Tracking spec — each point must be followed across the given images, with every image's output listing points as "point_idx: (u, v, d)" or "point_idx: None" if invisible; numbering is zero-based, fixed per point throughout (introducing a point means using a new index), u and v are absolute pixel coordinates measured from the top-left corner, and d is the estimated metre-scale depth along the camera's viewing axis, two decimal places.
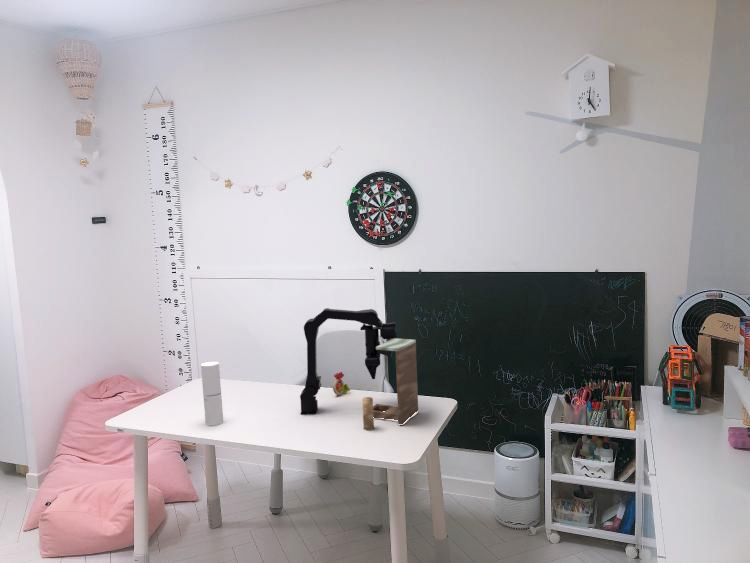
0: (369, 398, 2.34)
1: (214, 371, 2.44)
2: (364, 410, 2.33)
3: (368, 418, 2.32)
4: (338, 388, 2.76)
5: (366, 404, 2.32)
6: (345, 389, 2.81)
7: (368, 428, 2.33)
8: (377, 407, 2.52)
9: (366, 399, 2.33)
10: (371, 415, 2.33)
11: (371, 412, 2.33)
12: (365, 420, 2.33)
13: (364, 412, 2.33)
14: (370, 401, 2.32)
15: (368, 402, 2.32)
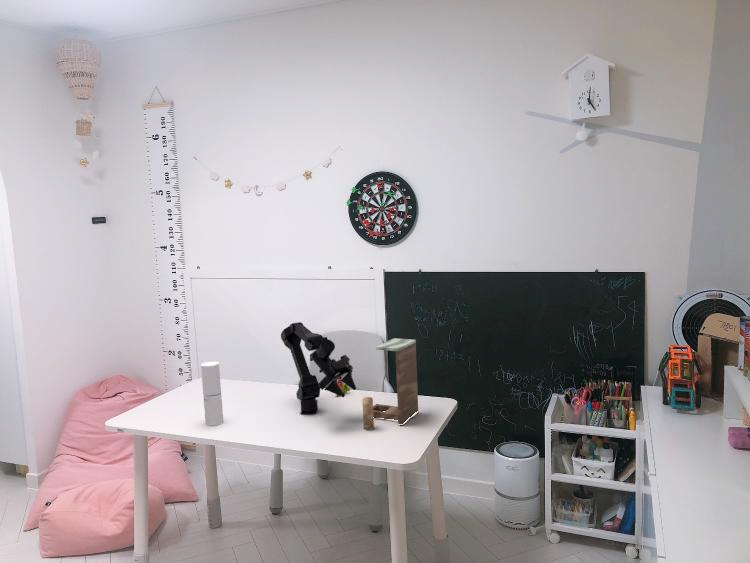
0: (369, 398, 2.34)
1: (214, 371, 2.44)
2: (364, 410, 2.33)
3: (368, 418, 2.32)
4: None
5: (366, 404, 2.32)
6: (345, 389, 2.81)
7: (368, 428, 2.33)
8: (377, 407, 2.52)
9: (366, 399, 2.33)
10: (371, 415, 2.33)
11: (371, 412, 2.33)
12: (365, 420, 2.33)
13: (364, 412, 2.33)
14: (370, 401, 2.32)
15: (368, 402, 2.32)
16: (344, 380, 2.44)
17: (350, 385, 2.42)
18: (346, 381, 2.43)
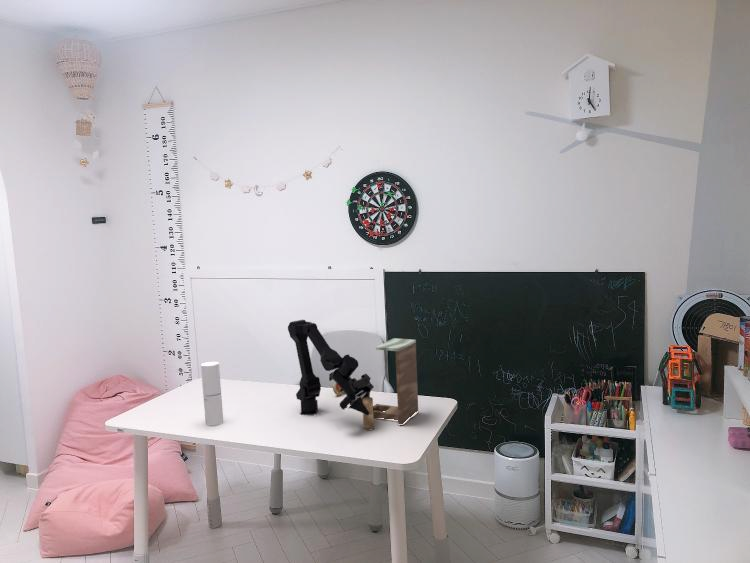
0: (369, 398, 2.34)
1: (214, 371, 2.44)
2: None
3: (368, 418, 2.32)
4: (338, 388, 2.76)
5: (366, 404, 2.32)
6: None
7: (368, 428, 2.33)
8: (377, 407, 2.52)
9: (366, 399, 2.33)
10: (371, 415, 2.33)
11: (371, 412, 2.33)
12: (365, 420, 2.33)
13: None
14: (370, 401, 2.32)
15: (368, 402, 2.32)
16: None
17: None
18: None
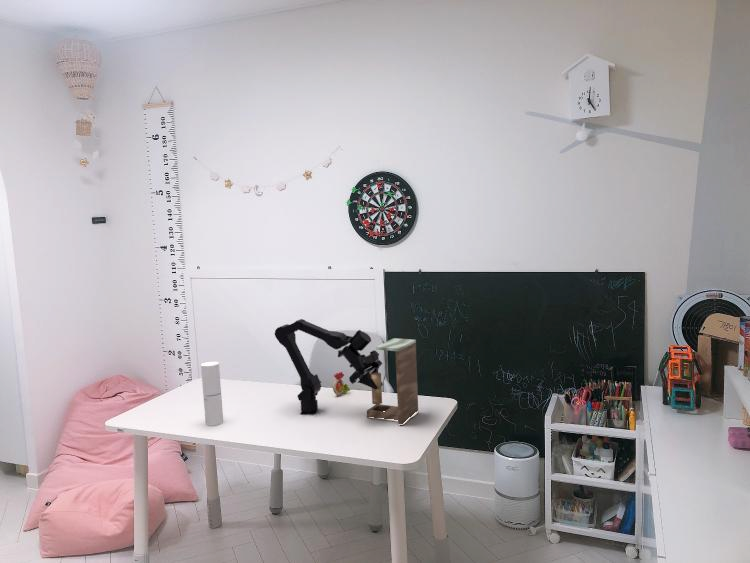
0: (378, 373, 2.43)
1: (214, 371, 2.44)
2: None
3: (377, 393, 2.41)
4: (338, 388, 2.76)
5: (374, 379, 2.41)
6: (345, 389, 2.81)
7: (376, 402, 2.42)
8: (377, 407, 2.52)
9: (375, 374, 2.42)
10: (379, 390, 2.42)
11: (379, 387, 2.42)
12: (373, 394, 2.42)
13: None
14: (378, 376, 2.41)
15: (377, 377, 2.41)
16: None
17: None
18: None
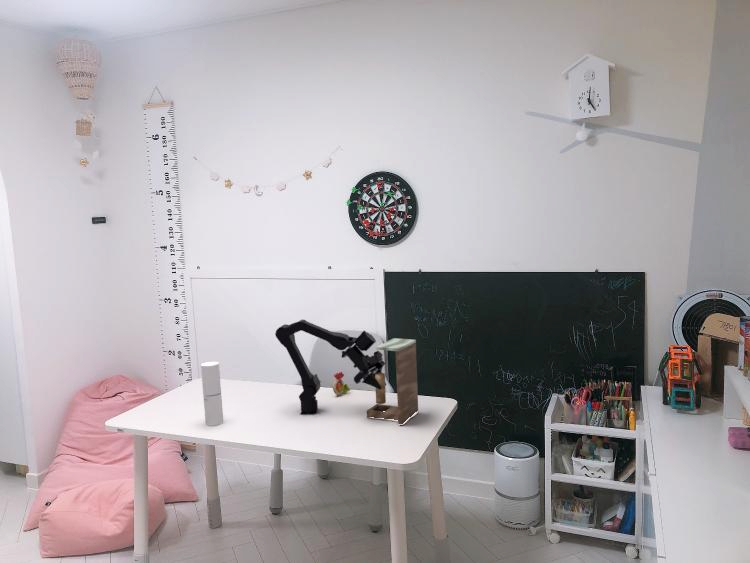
0: (381, 373, 2.47)
1: (214, 371, 2.44)
2: None
3: (381, 392, 2.46)
4: (338, 388, 2.76)
5: (378, 379, 2.45)
6: (345, 389, 2.81)
7: (380, 402, 2.46)
8: (377, 407, 2.52)
9: (378, 374, 2.46)
10: (383, 389, 2.46)
11: (383, 387, 2.46)
12: (377, 394, 2.46)
13: None
14: (382, 376, 2.45)
15: (381, 377, 2.45)
16: (374, 377, 2.51)
17: None
18: None
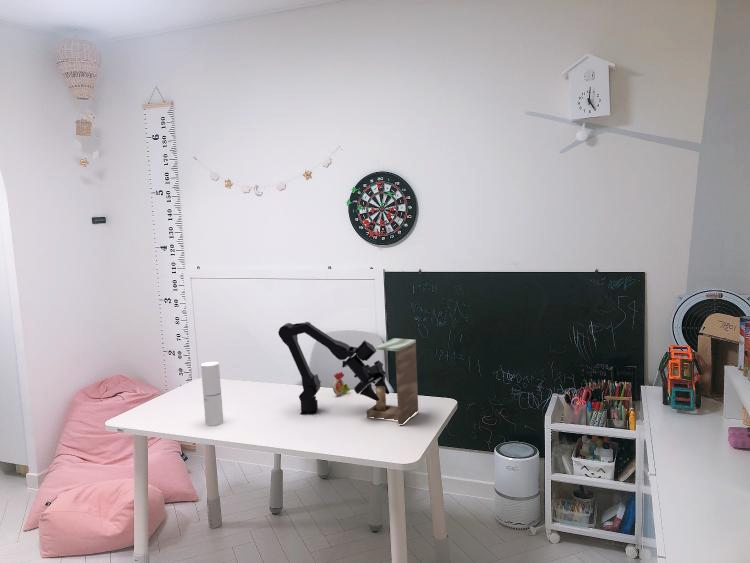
0: (382, 387, 2.48)
1: (214, 371, 2.44)
2: None
3: (381, 406, 2.46)
4: (338, 388, 2.76)
5: (379, 392, 2.46)
6: (345, 389, 2.81)
7: None
8: None
9: (379, 388, 2.47)
10: (384, 403, 2.47)
11: (384, 400, 2.47)
12: (378, 407, 2.47)
13: None
14: (383, 389, 2.46)
15: (381, 391, 2.46)
16: (377, 385, 2.54)
17: None
18: None
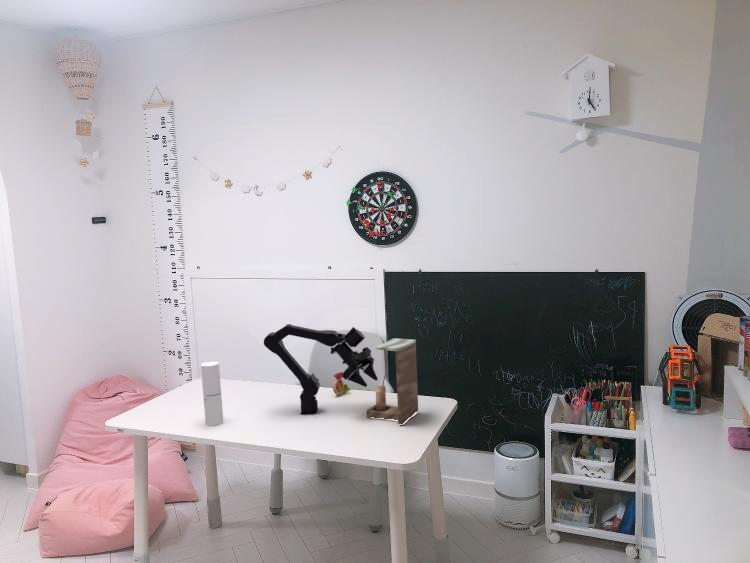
0: (382, 387, 2.48)
1: (214, 371, 2.44)
2: (377, 398, 2.46)
3: (381, 406, 2.46)
4: (338, 388, 2.76)
5: (379, 392, 2.46)
6: (345, 389, 2.81)
7: None
8: None
9: (379, 388, 2.47)
10: (384, 403, 2.47)
11: (384, 400, 2.47)
12: (378, 407, 2.47)
13: (377, 400, 2.47)
14: (383, 389, 2.46)
15: (381, 391, 2.46)
16: (366, 371, 2.55)
17: (372, 376, 2.54)
18: (367, 372, 2.55)
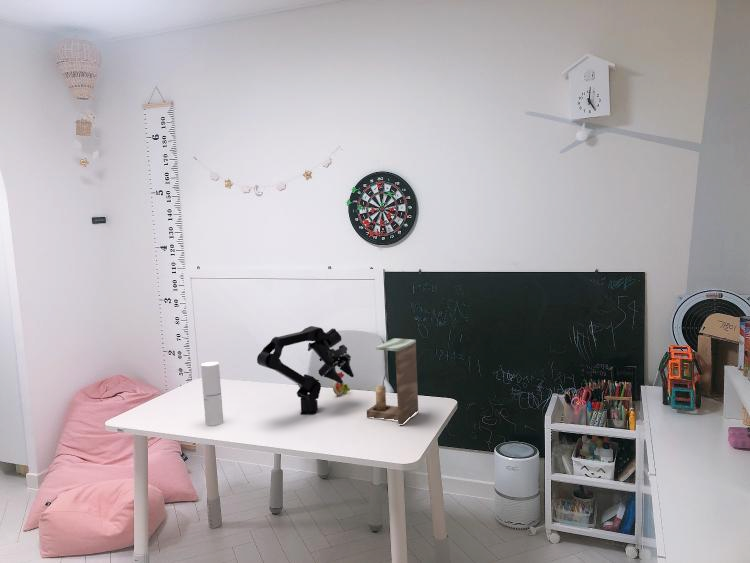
0: (382, 387, 2.48)
1: (214, 371, 2.44)
2: (377, 398, 2.46)
3: (381, 406, 2.46)
4: (338, 388, 2.76)
5: (379, 392, 2.46)
6: (345, 389, 2.81)
7: None
8: None
9: (379, 388, 2.47)
10: (384, 403, 2.47)
11: (384, 400, 2.47)
12: (378, 407, 2.47)
13: (377, 400, 2.47)
14: (383, 389, 2.46)
15: (381, 391, 2.46)
16: (342, 368, 2.61)
17: (348, 373, 2.60)
18: (344, 369, 2.61)
